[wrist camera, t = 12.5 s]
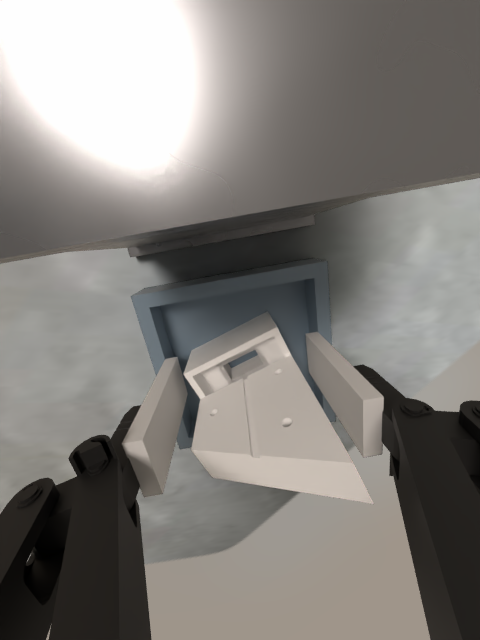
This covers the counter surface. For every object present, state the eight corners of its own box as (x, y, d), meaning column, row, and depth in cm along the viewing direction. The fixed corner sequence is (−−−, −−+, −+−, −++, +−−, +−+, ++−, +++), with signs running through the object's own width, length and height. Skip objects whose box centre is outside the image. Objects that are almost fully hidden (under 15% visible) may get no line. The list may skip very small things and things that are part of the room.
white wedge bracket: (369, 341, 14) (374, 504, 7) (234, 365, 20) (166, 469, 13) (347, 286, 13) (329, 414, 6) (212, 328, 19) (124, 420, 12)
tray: (185, 424, 19) (179, 449, 17) (144, 288, 16) (130, 296, 13) (322, 399, 19) (335, 421, 17) (312, 258, 16) (327, 261, 13)
